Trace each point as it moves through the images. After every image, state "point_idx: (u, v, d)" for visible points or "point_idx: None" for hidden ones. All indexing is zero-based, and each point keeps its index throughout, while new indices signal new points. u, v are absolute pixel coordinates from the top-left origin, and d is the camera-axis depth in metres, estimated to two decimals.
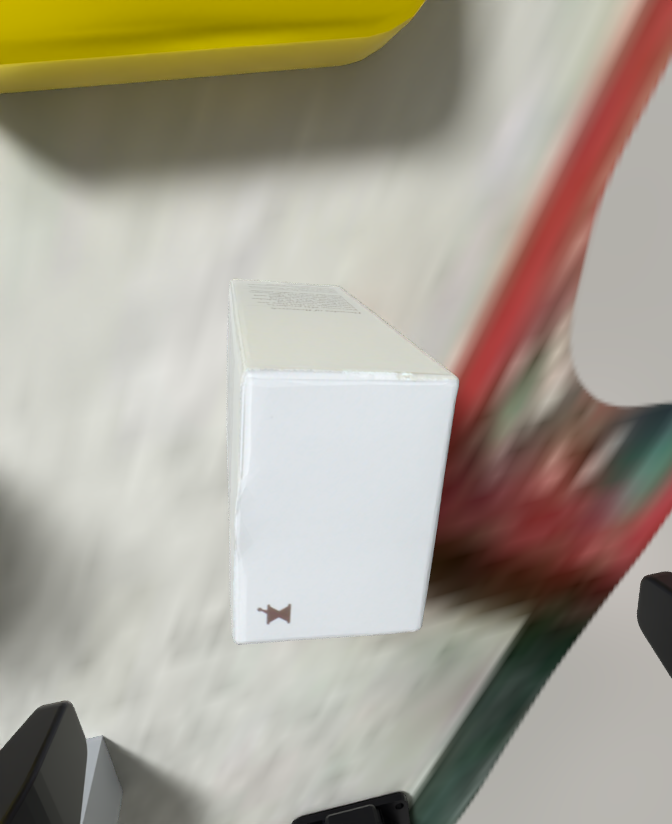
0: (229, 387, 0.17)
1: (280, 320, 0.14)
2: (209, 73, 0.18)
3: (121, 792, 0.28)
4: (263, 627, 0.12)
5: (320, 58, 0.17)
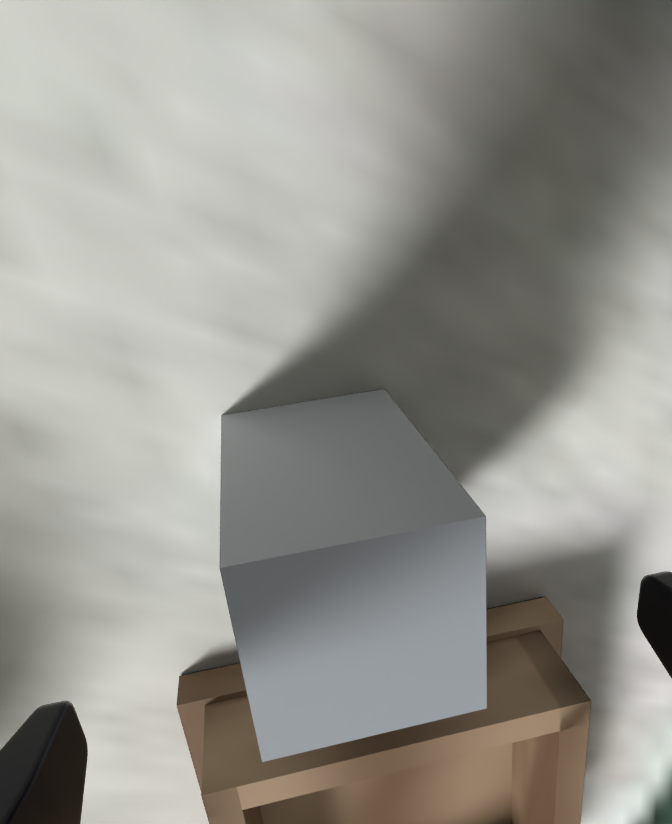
0: None
1: None
2: None
3: (377, 392, 0.14)
4: None
5: None
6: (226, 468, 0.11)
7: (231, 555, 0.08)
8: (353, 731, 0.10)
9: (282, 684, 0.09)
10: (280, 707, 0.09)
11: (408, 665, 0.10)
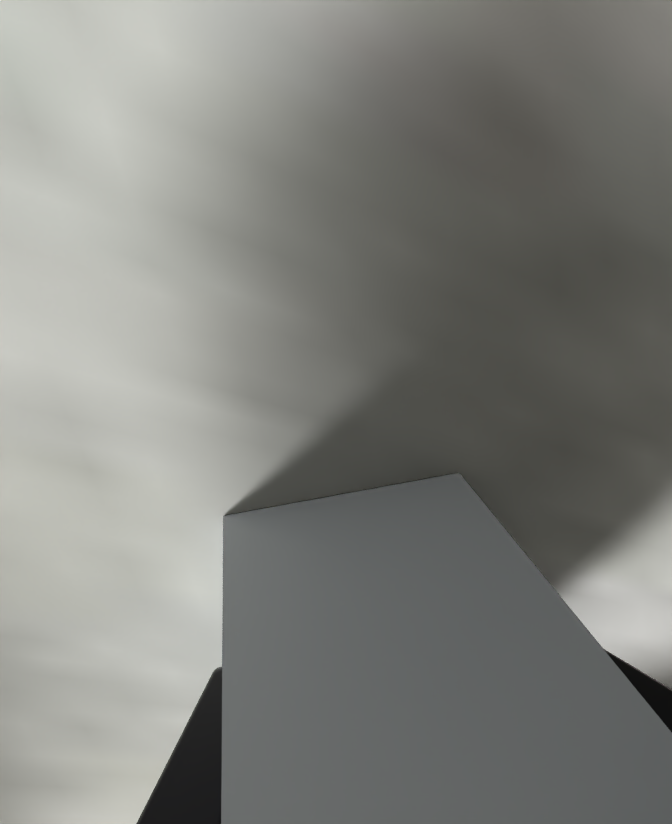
0: None
1: None
2: None
3: (450, 480, 0.10)
4: None
5: None
6: (231, 644, 0.07)
7: None
8: None
9: None
10: None
11: None
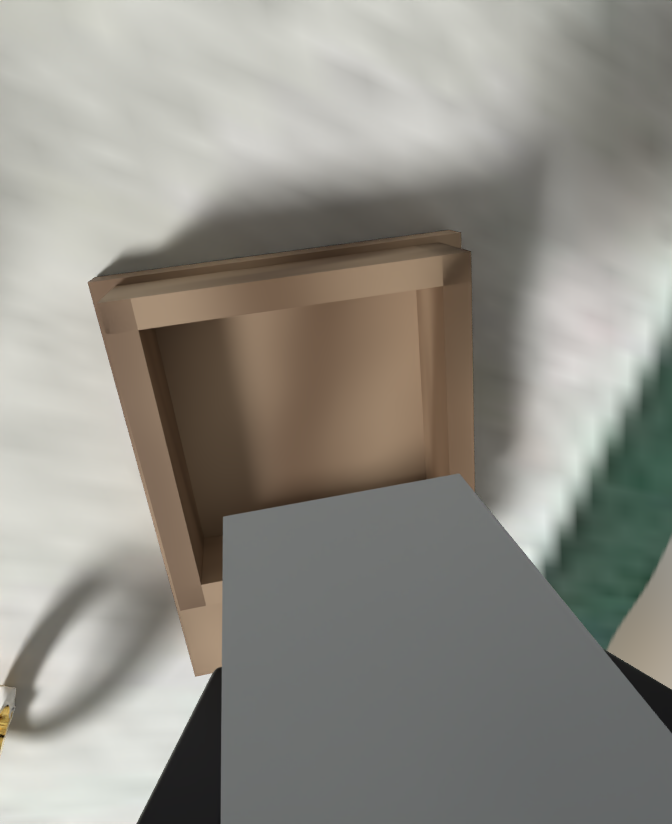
0: None
1: None
2: None
3: (450, 480, 0.10)
4: None
5: None
6: (231, 645, 0.07)
7: None
8: None
9: None
10: None
11: None
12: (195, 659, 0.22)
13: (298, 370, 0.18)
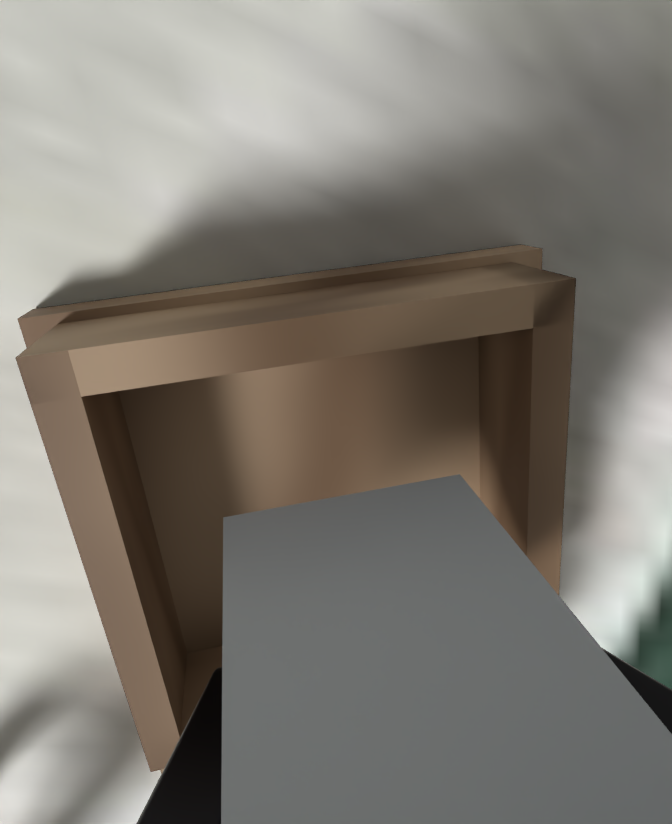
0: None
1: None
2: None
3: (450, 481, 0.10)
4: None
5: None
6: (231, 647, 0.07)
7: None
8: None
9: None
10: None
11: None
12: None
13: (316, 435, 0.13)
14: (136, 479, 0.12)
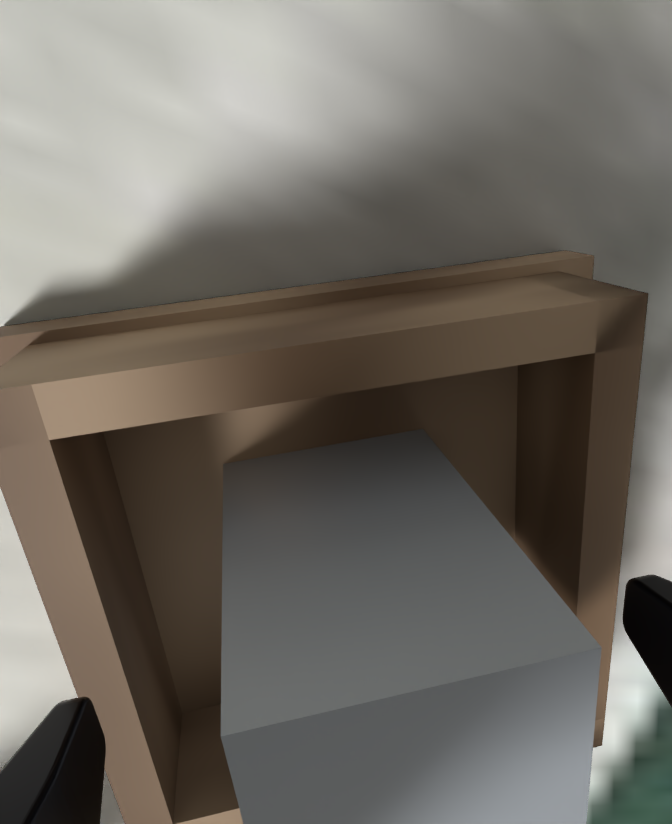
0: None
1: None
2: None
3: (414, 433, 0.11)
4: None
5: None
6: (229, 548, 0.08)
7: (237, 711, 0.06)
8: None
9: None
10: None
11: None
12: None
13: None
14: (122, 524, 0.11)
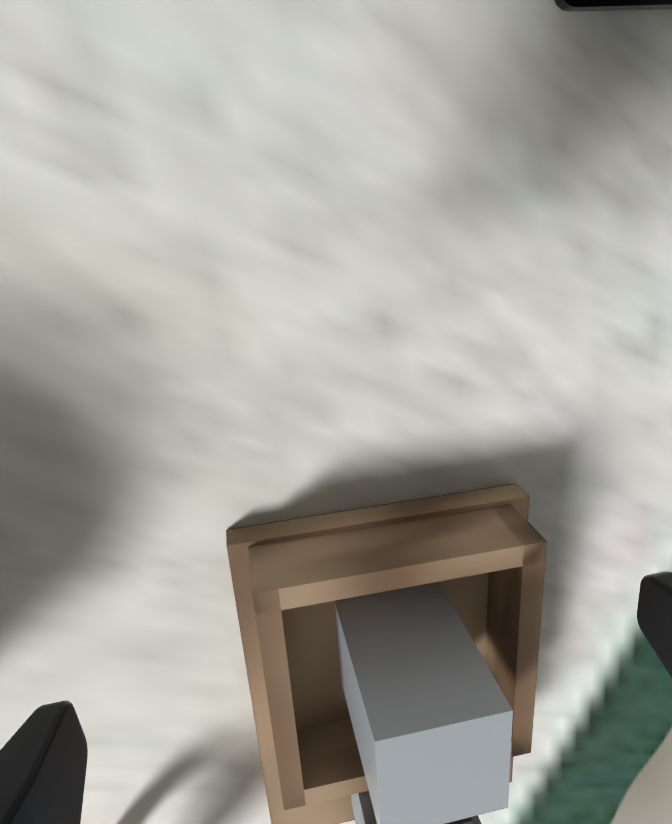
0: None
1: None
2: None
3: (433, 583, 0.21)
4: None
5: None
6: (353, 656, 0.18)
7: (378, 732, 0.16)
8: (432, 821, 0.17)
9: (397, 798, 0.17)
10: (395, 810, 0.17)
11: (466, 786, 0.17)
12: None
13: None
14: None
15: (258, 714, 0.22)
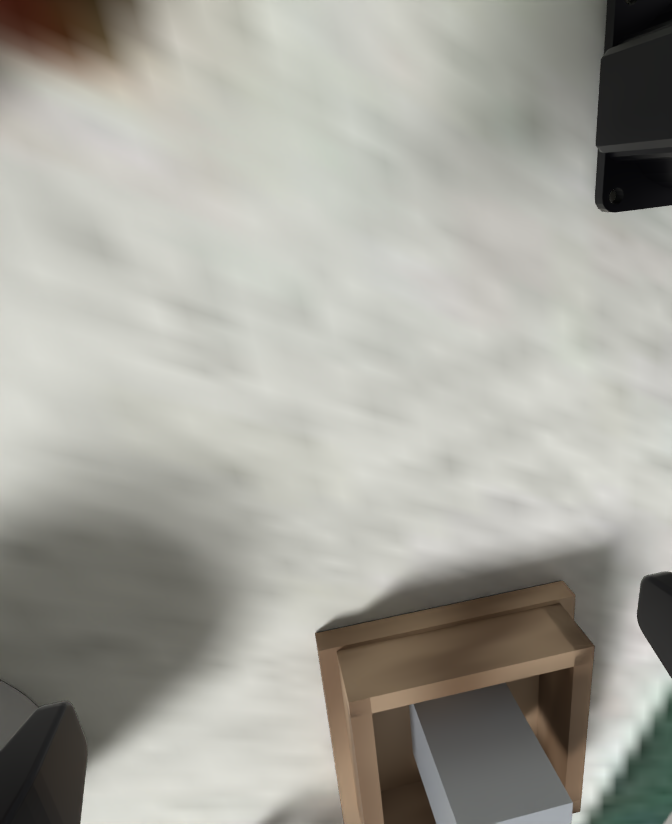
0: None
1: None
2: None
3: None
4: None
5: None
6: (432, 747, 0.22)
7: (462, 823, 0.19)
8: None
9: None
10: None
11: None
12: None
13: None
14: None
15: (342, 781, 0.26)
